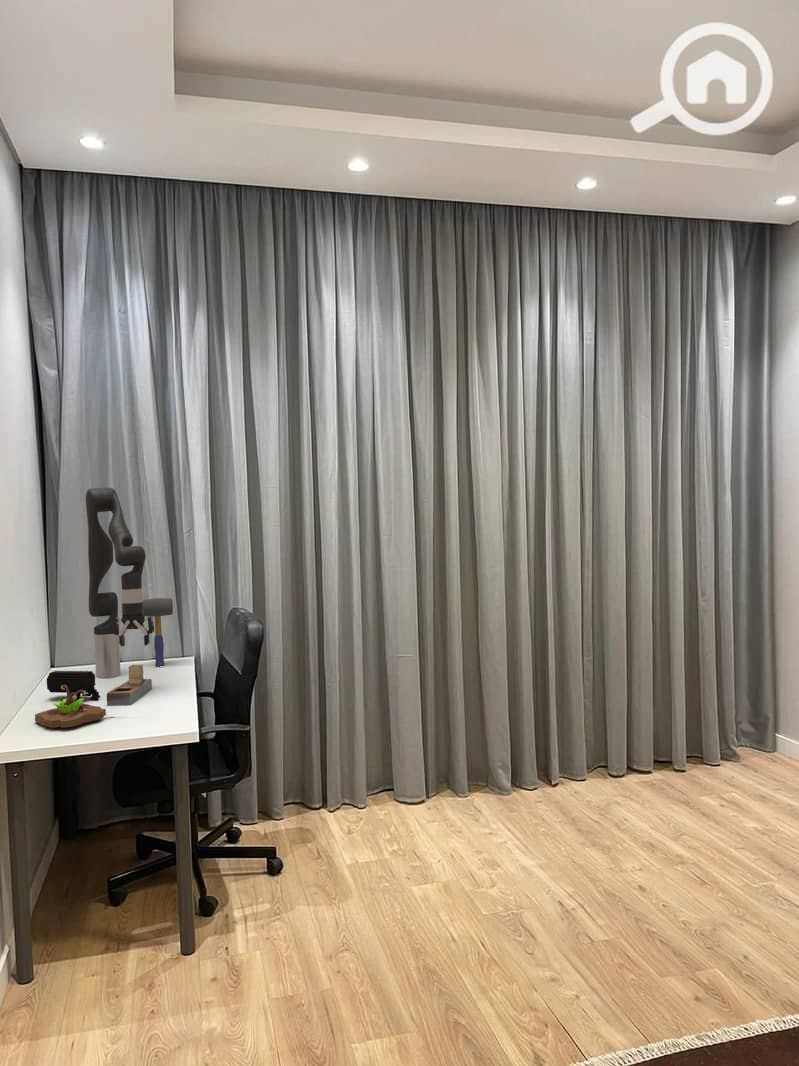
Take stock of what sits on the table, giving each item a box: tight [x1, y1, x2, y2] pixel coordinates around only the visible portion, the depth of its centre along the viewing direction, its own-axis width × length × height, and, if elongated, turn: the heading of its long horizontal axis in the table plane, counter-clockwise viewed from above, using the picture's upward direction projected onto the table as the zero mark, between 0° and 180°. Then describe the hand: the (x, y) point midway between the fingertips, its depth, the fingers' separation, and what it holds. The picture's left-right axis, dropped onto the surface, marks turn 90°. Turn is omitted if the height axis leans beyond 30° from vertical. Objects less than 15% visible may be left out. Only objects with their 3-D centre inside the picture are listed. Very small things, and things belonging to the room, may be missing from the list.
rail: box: [106, 678, 153, 707], centre depth 305 cm, size 24×8×4 cm, turn 179°
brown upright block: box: [128, 663, 145, 684], centre depth 312 cm, size 4×4×9 cm
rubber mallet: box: [143, 597, 174, 668], centre depth 352 cm, size 12×8×30 cm, turn 101°
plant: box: [34, 685, 107, 729], centre depth 277 cm, size 20×20×11 cm
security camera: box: [46, 670, 101, 702], centre depth 303 cm, size 7×18×10 cm, turn 79°
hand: (134, 645), depth 311 cm, fingers open, 8 cm apart
